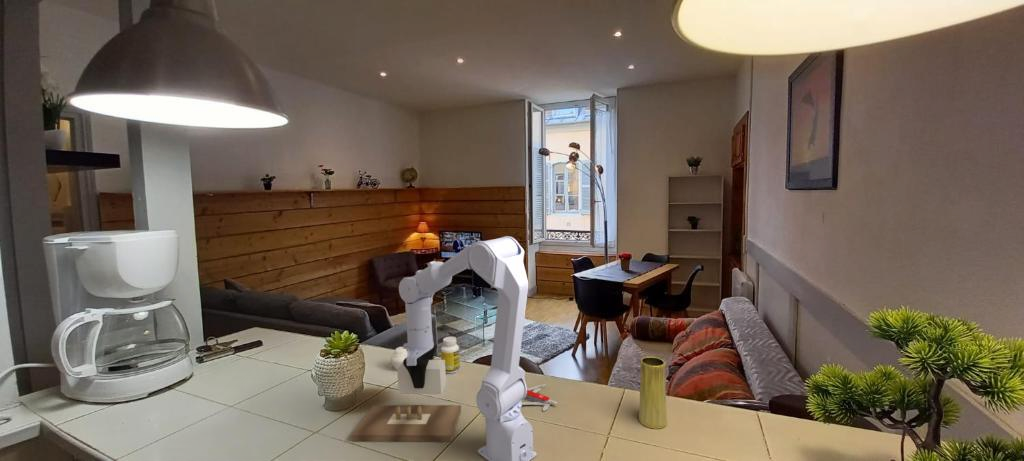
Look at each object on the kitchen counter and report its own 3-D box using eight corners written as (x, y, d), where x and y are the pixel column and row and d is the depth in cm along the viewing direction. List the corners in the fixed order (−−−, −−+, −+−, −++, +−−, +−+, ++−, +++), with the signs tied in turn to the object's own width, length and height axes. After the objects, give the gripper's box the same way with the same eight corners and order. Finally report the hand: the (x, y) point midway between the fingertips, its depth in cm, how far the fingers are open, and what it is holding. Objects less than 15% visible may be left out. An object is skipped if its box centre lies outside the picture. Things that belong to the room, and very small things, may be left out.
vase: (649, 431, 86) (649, 368, 85) (633, 416, 92) (633, 357, 91) (673, 426, 88) (673, 364, 87) (656, 411, 94) (656, 353, 92)
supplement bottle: (456, 374, 116) (454, 342, 115) (439, 373, 118) (437, 341, 117) (462, 366, 122) (460, 335, 121) (445, 365, 123) (444, 335, 122)
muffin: (391, 366, 124) (389, 344, 123) (411, 363, 126) (410, 341, 125) (391, 374, 118) (389, 352, 117) (412, 371, 120) (411, 349, 119)
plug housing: (446, 383, 96) (444, 359, 96) (441, 394, 91) (439, 369, 91) (405, 383, 97) (404, 360, 96) (398, 394, 92) (397, 369, 91)
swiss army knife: (569, 396, 102) (569, 389, 102) (541, 422, 91) (541, 414, 91) (533, 385, 109) (532, 378, 109) (502, 407, 98) (502, 399, 98)
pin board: (461, 410, 97) (460, 393, 97) (451, 441, 85) (450, 422, 85) (373, 411, 98) (372, 393, 98) (351, 441, 86) (349, 422, 86)
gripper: (412, 316, 100) (415, 368, 101) (391, 337, 86) (395, 397, 87) (439, 316, 99) (442, 368, 101) (423, 337, 85) (426, 397, 86)
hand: (422, 381), depth 94 cm, fingers closed on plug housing, 5 cm apart
